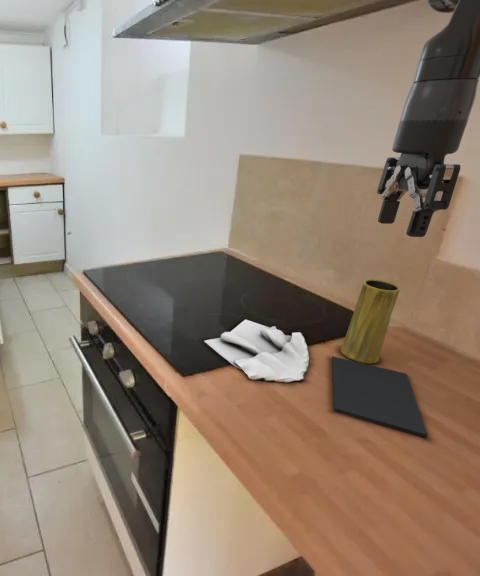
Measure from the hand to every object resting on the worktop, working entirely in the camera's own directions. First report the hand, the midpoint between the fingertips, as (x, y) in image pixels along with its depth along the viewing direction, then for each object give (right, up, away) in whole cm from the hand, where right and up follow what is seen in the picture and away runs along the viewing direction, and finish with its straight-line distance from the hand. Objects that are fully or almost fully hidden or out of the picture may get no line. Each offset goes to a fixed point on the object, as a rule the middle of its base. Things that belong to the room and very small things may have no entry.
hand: (399, 229), depth 60 cm
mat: (-4, -26, +1) cm, 27 cm away
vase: (+1, -22, +11) cm, 25 cm away
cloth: (-16, -21, +13) cm, 29 cm away
